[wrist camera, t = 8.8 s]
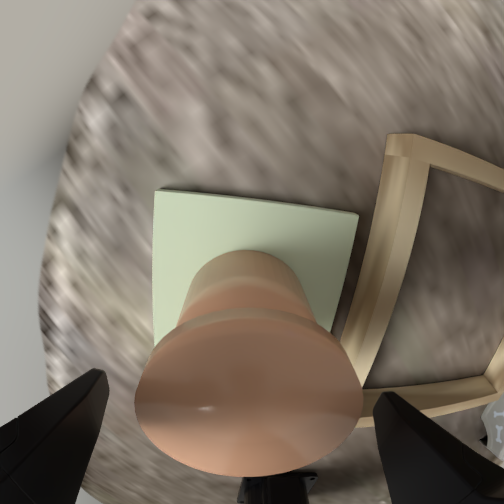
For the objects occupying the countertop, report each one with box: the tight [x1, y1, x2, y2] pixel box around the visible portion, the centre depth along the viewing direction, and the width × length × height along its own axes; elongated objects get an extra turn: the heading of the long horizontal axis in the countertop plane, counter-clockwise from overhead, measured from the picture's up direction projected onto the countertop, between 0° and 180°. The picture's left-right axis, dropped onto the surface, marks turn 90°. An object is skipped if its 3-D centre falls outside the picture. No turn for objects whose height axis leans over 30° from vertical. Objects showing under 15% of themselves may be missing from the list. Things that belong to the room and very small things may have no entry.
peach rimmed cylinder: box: [134, 250, 363, 477], centre depth 11 cm, size 7×7×7 cm
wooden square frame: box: [340, 134, 504, 428], centre depth 14 cm, size 16×16×2 cm
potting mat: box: [152, 189, 359, 347], centre depth 15 cm, size 10×9×1 cm
